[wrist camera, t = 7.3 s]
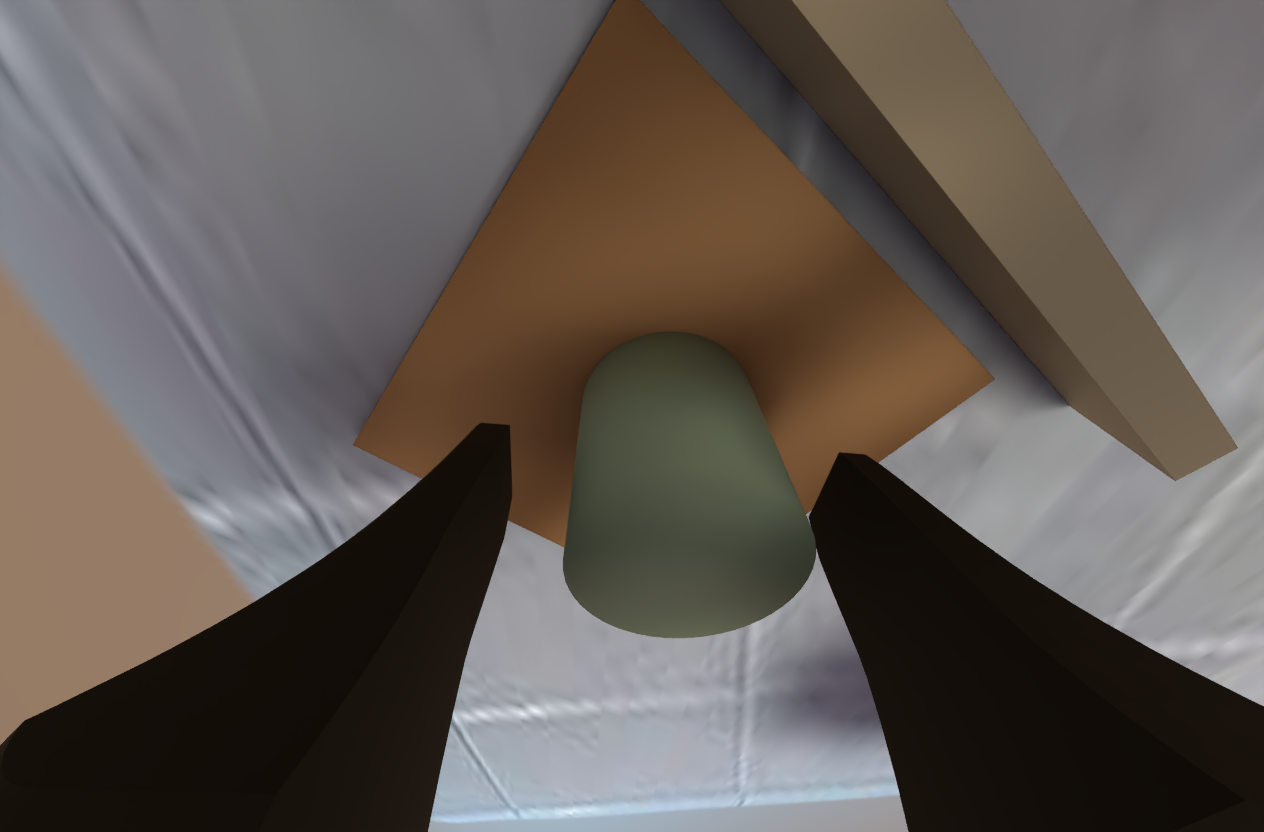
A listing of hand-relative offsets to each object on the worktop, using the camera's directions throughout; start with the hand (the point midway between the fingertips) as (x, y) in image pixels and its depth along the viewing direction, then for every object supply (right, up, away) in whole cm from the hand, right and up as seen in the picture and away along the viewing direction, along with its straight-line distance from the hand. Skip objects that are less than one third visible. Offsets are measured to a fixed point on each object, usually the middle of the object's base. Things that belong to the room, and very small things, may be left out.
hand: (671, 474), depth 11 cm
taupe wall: (+5, +6, -1) cm, 8 cm away
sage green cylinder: (0, +1, +2) cm, 2 cm away
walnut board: (0, +2, +2) cm, 3 cm away
